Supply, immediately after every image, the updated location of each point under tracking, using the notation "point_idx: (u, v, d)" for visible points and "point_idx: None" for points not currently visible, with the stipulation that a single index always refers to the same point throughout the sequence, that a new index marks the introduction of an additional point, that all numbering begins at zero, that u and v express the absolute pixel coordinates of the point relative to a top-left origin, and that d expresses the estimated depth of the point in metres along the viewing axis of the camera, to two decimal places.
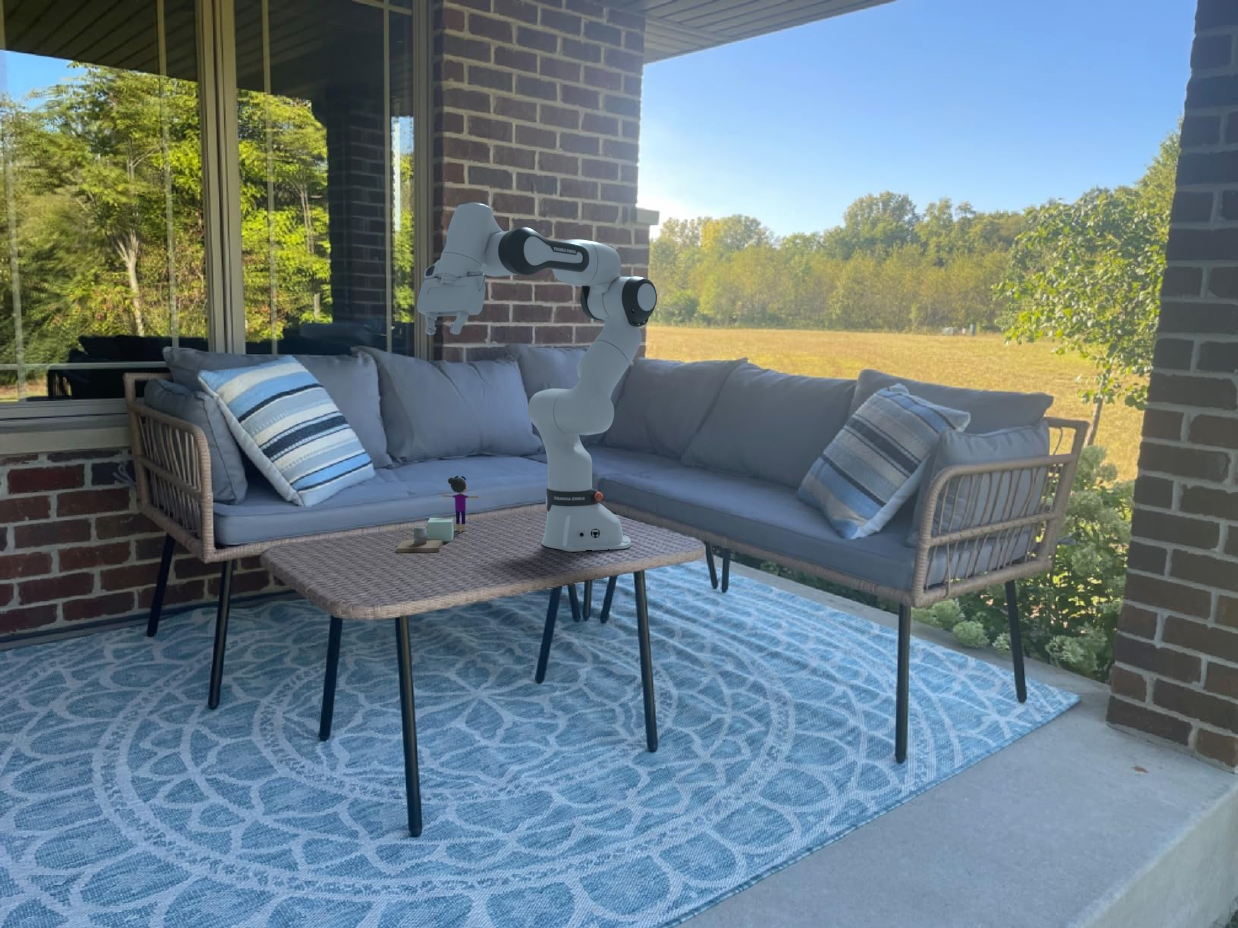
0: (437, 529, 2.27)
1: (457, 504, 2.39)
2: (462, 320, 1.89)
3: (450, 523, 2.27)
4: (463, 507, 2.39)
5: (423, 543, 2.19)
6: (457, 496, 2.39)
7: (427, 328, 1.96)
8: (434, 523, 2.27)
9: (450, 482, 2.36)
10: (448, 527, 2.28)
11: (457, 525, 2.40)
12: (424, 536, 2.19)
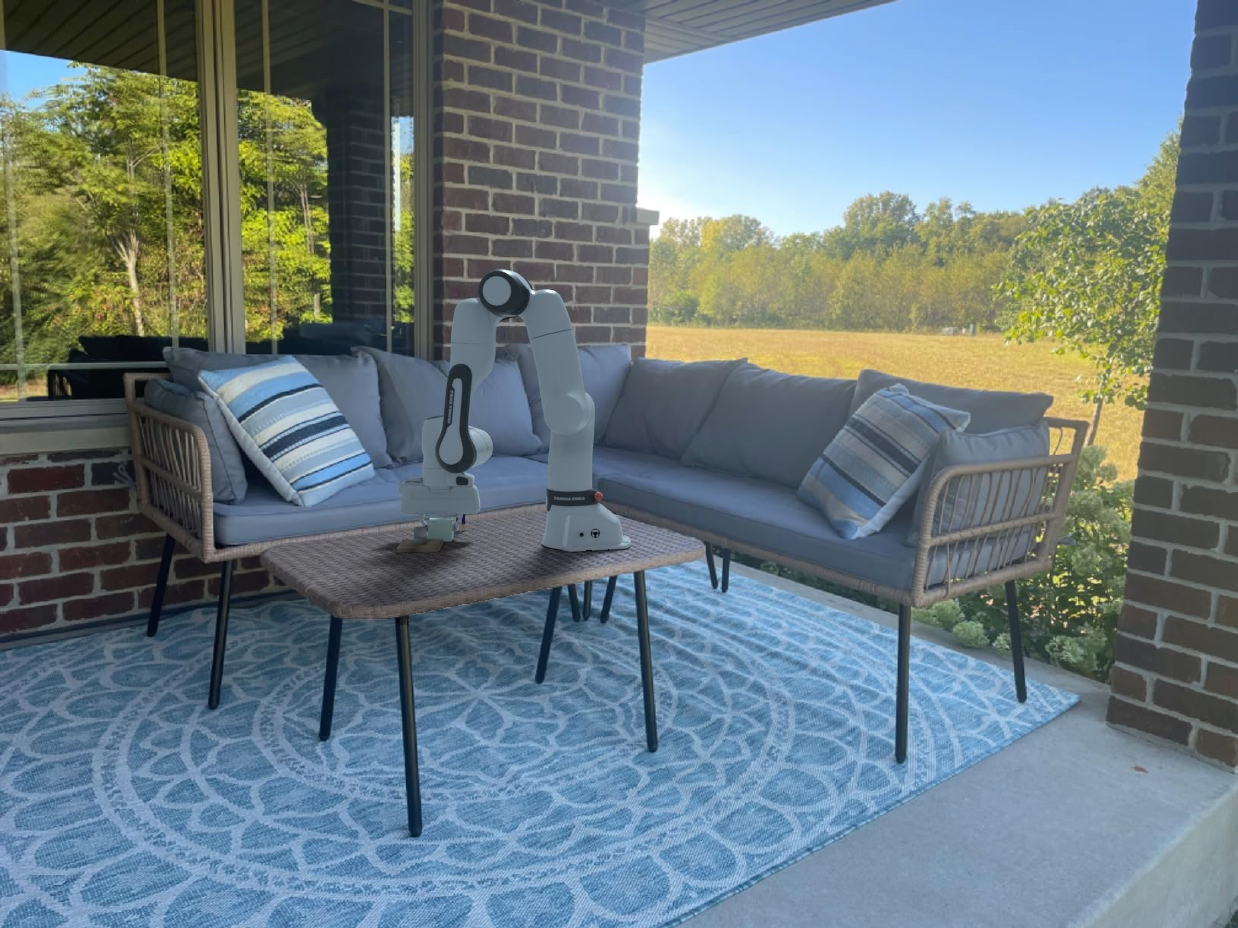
0: (437, 529, 2.27)
1: None
2: None
3: (450, 523, 2.27)
4: None
5: (423, 543, 2.19)
6: None
7: None
8: (434, 523, 2.27)
9: None
10: (448, 527, 2.28)
11: None
12: (424, 536, 2.19)
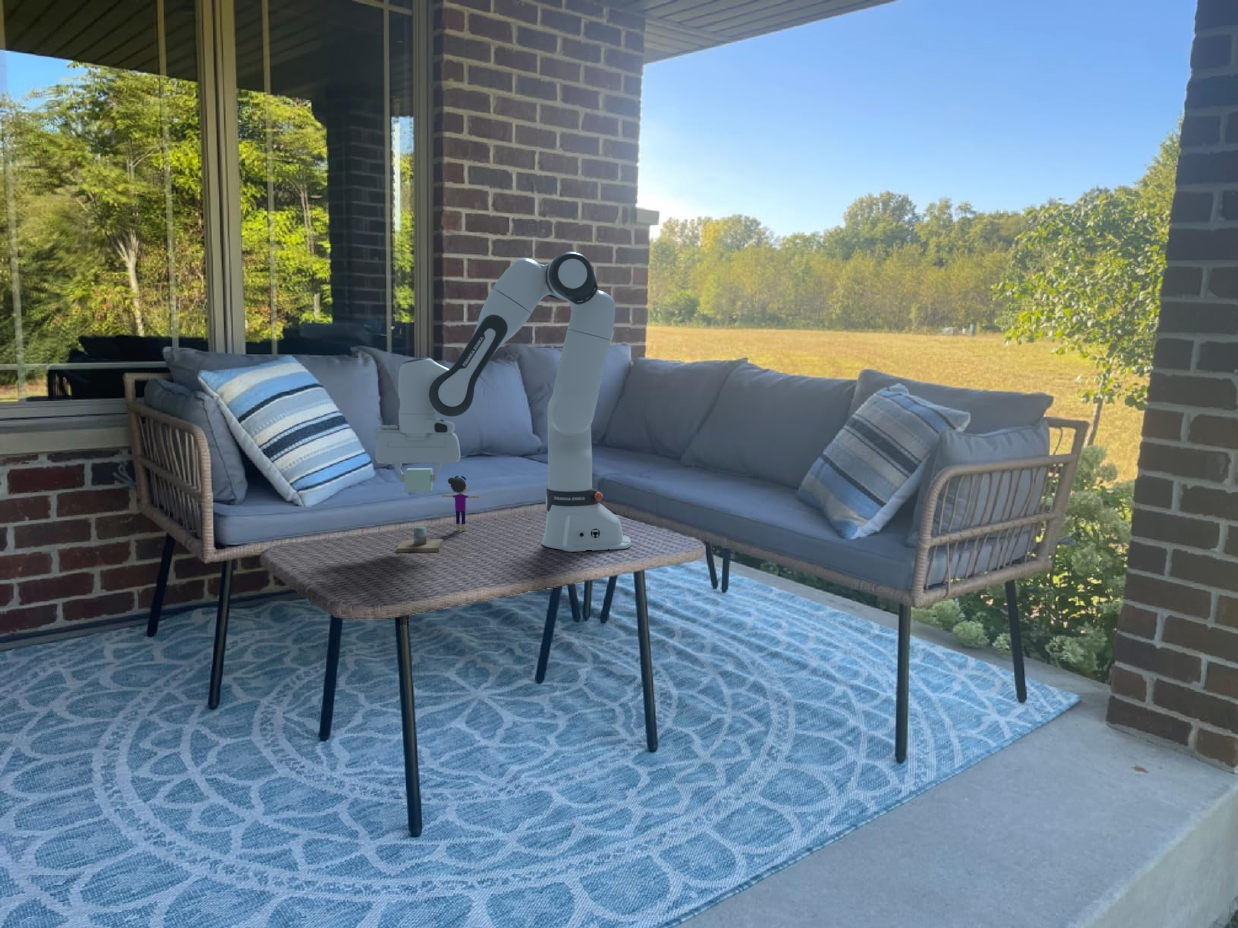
0: (414, 479, 2.15)
1: (457, 504, 2.39)
2: None
3: (428, 472, 2.15)
4: (463, 507, 2.39)
5: (423, 543, 2.19)
6: (457, 496, 2.39)
7: None
8: (411, 472, 2.15)
9: (450, 482, 2.36)
10: (426, 477, 2.16)
11: (457, 525, 2.40)
12: (424, 536, 2.19)
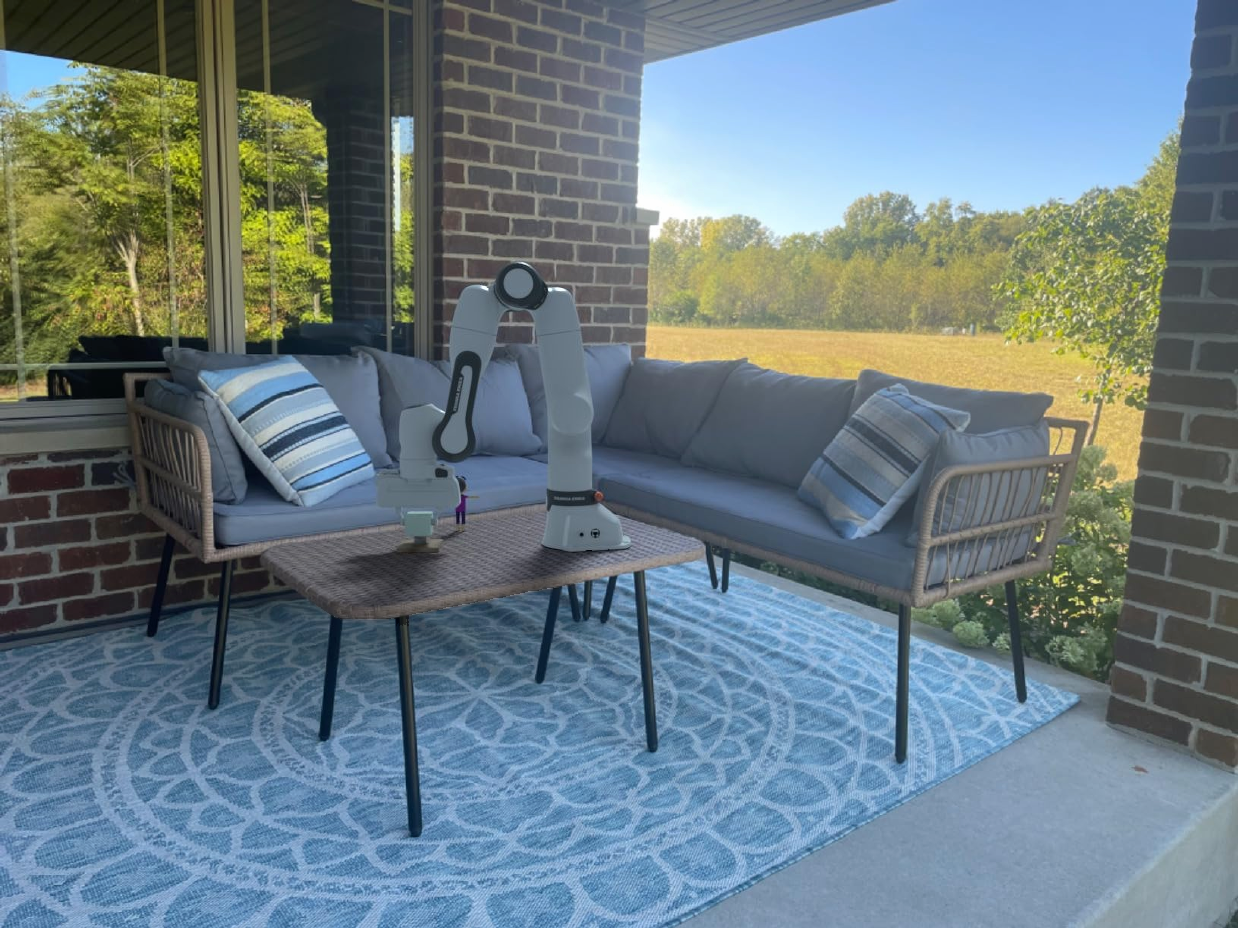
0: (415, 523, 2.17)
1: None
2: None
3: (429, 517, 2.17)
4: (463, 507, 2.39)
5: (423, 543, 2.19)
6: None
7: None
8: (412, 517, 2.16)
9: None
10: (426, 521, 2.17)
11: (457, 525, 2.40)
12: (424, 536, 2.19)
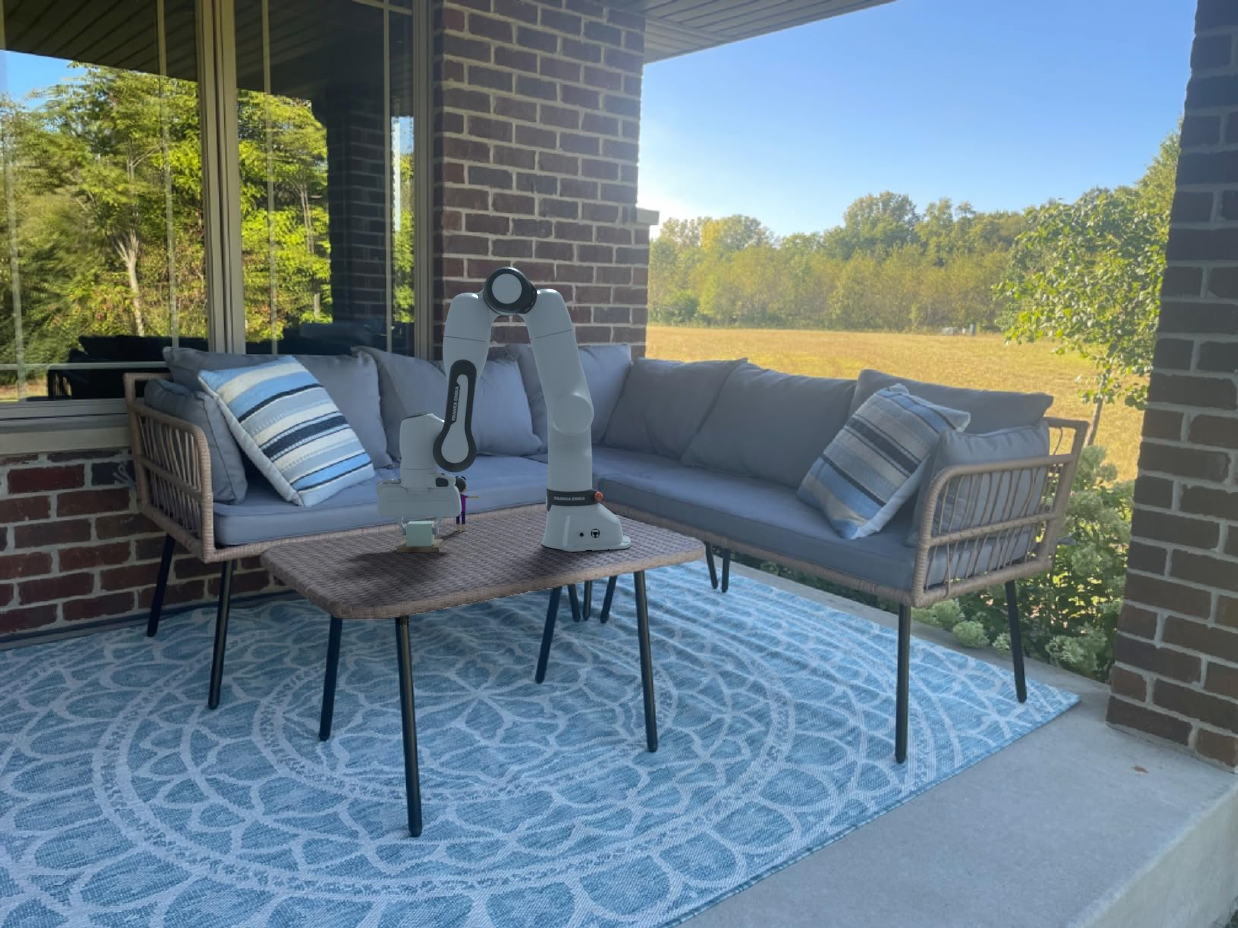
0: (416, 534, 2.17)
1: None
2: None
3: (429, 527, 2.17)
4: (463, 507, 2.39)
5: None
6: None
7: None
8: (413, 527, 2.17)
9: None
10: (427, 531, 2.17)
11: (457, 525, 2.40)
12: None
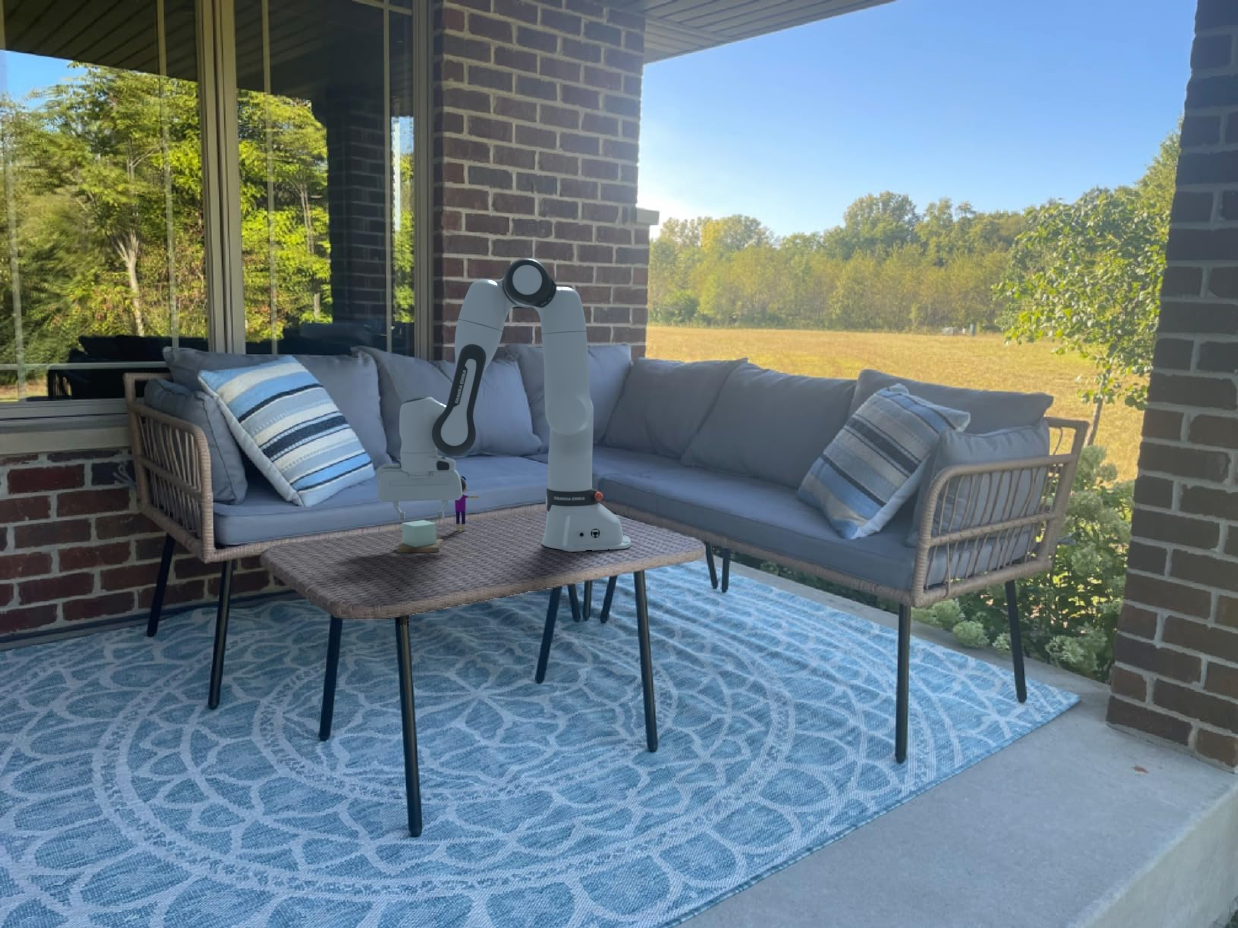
0: (423, 533, 2.18)
1: (457, 504, 2.39)
2: None
3: (435, 525, 2.20)
4: (463, 507, 2.39)
5: None
6: None
7: None
8: (420, 527, 2.17)
9: None
10: (433, 529, 2.20)
11: (457, 525, 2.40)
12: None
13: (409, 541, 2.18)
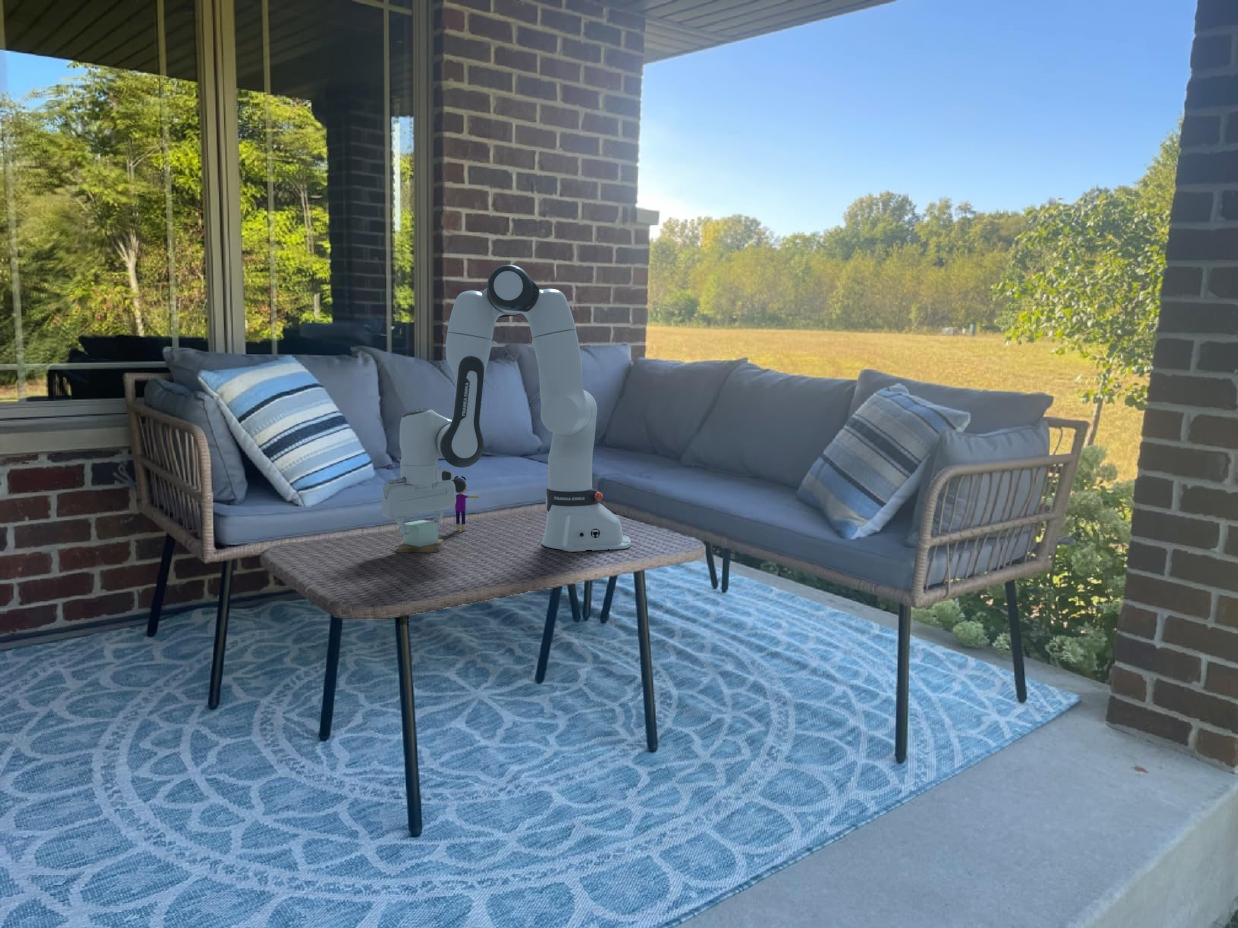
0: (426, 532, 2.19)
1: (457, 504, 2.39)
2: (399, 522, 2.15)
3: (437, 524, 2.21)
4: (463, 507, 2.39)
5: None
6: (457, 496, 2.39)
7: None
8: (424, 526, 2.18)
9: None
10: (435, 528, 2.21)
11: (457, 525, 2.40)
12: None
13: (412, 541, 2.18)
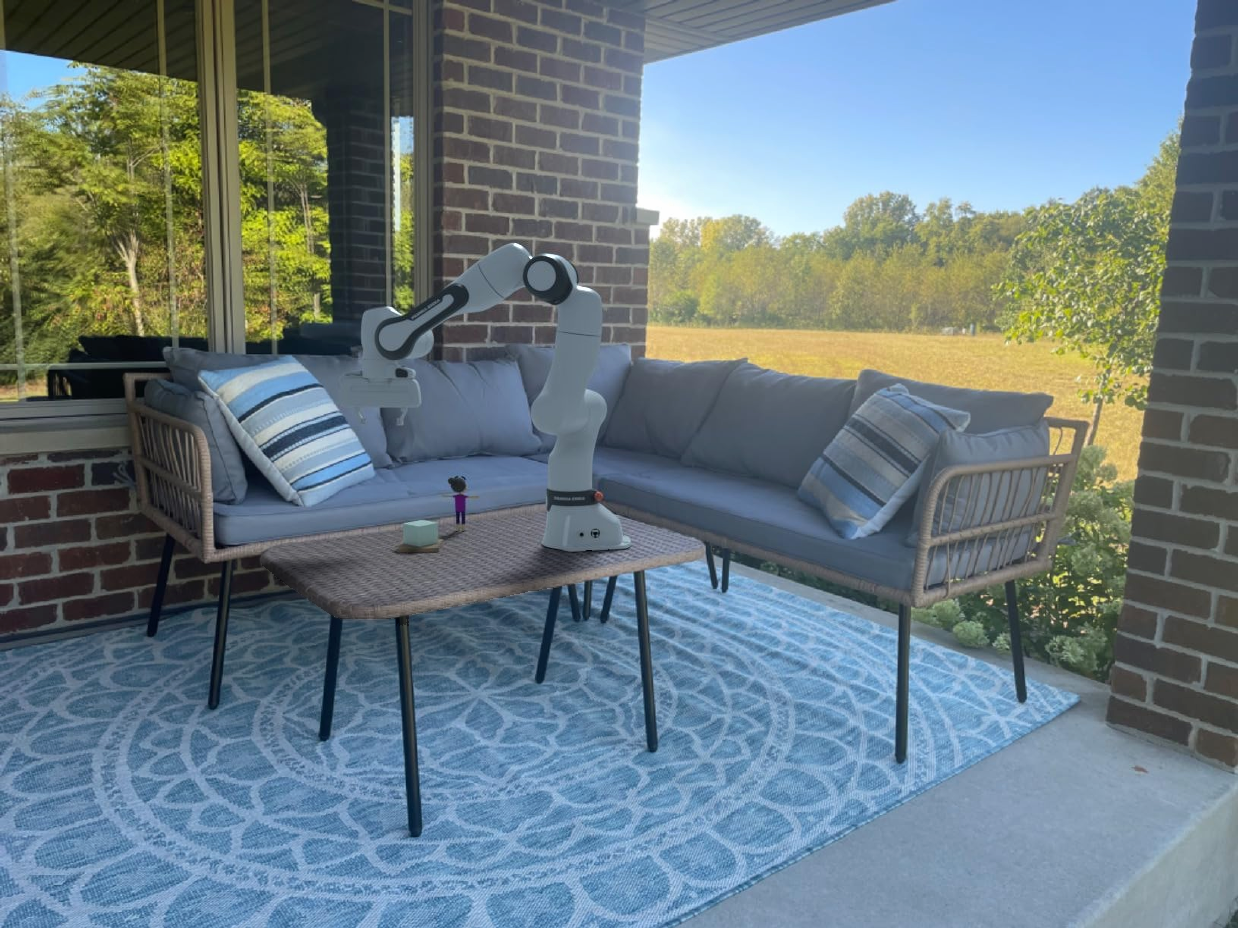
0: (426, 532, 2.19)
1: (457, 504, 2.39)
2: None
3: (437, 524, 2.21)
4: (463, 507, 2.39)
5: None
6: (457, 496, 2.39)
7: None
8: (424, 526, 2.18)
9: (450, 482, 2.36)
10: (435, 528, 2.21)
11: (457, 525, 2.40)
12: None
13: (412, 541, 2.18)
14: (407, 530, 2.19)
